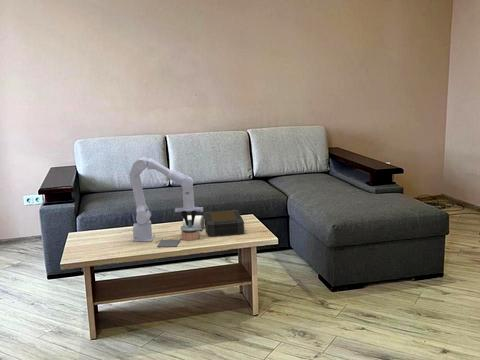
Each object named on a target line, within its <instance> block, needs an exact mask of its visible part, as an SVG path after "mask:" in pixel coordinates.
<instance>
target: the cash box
mask: <svg viewBox="0 0 480 360" xmlns="http://www.w3.org/2000/svg"><path fill="white" fill-rule="evenodd" d="M203 217H204V227H205V231H206V234H207V237H209V238H213V237H215V238H216V237H224V236H225V237H226V236H235V235H236V236H237V235H239V236H240V235H244V234H245V220H244V219H243V217H242V216H241V214H240V212H239V210H237V209H225V210H214V211H213V210H212V211H211V210H210V211H205V212H203Z"/></svg>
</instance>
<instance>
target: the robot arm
mask: <svg viewBox="0 0 480 360" xmlns="http://www.w3.org/2000/svg"><path fill="white" fill-rule="evenodd" d="M146 169H147V171H149V170H155V171H158V172H159V173H161V174H163V175H166V176H167V178H168V180H170V181H172V182H174V183H175V184H177V185H180V186H181V188H182V207H181V206H180V207H175V208H174V212H175V213H181V216H182V217H183V219H184V220H185V222H186V226H188V218H187V215H188V212H191V213H190V215H191V217H192V225H194V219H195V216H197V213H198V212H200V213H204V207H203V206H202V207H201V206H195V196H194V195H195V194H194V193H195V192H194V187H193V185H194V180H193V178H192V177H191V176H190V175H187V174H186V173H185V174H184V173H182V172H180V171H179V170H178V169H170V168H168V167H166V166H165V165H163V164H161V163H160V162H158V161H156V160H155V159H153V158H151V157H148V156H146V155H140V156H139V157H138V158H137V159H135V161H134V162H133V163H132V166H131V168H130V171H129V179H130V182H131V188H132V191H133V196H134V201H135V206H136V209H135V210H136V217H135V221H136V223H135V222H134V223H133V226H132V234H133V235H132V236H133V242H137V243H138V242H152V241H153V239H154V238H155V235H153V229H152V221H151V220H150V218H151V217H152V212H151V210H150V209H149V206H148V205H147V201H146V199H145V193H144V189H143V185H142V181H141V174H142V173H143V171H144V170H146Z"/></svg>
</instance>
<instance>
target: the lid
mask: <svg viewBox="0 0 480 360" xmlns="http://www.w3.org/2000/svg"><path fill="white" fill-rule="evenodd" d="M198 229H200V226H199V225H197V224H194V225H192V220H188V226H186V225H183V224H182V225H181V226H180V230H181V231H195V230H198Z"/></svg>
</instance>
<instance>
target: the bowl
mask: <svg viewBox="0 0 480 360" xmlns="http://www.w3.org/2000/svg"><path fill="white" fill-rule="evenodd" d="M180 236H181V239H182V240H183V241H189V242H190V241H196V240H199V238H200V230H199V229H198V230H195V231H182V230H181V233H180Z"/></svg>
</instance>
